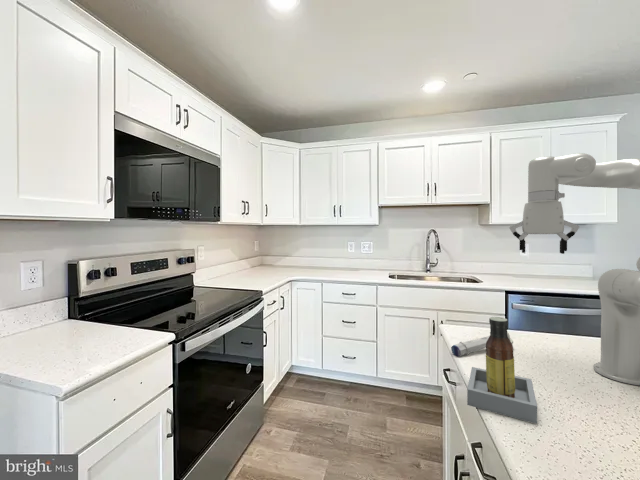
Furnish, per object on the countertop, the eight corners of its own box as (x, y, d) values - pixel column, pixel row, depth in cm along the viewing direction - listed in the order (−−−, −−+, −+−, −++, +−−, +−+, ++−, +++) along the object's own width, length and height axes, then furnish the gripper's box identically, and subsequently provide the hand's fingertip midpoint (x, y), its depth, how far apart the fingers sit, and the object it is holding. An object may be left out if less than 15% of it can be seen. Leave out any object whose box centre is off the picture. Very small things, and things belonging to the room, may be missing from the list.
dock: (531, 394, 77) (531, 379, 77) (537, 424, 65) (537, 406, 65) (471, 380, 84) (471, 366, 84) (467, 405, 73) (467, 389, 72)
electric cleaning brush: (449, 342, 104) (502, 325, 111) (451, 360, 104) (504, 342, 111) (460, 348, 99) (515, 330, 106) (462, 366, 99) (517, 347, 106)
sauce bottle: (510, 390, 77) (511, 316, 76) (518, 404, 71) (519, 323, 70) (482, 387, 79) (483, 314, 78) (488, 399, 73) (489, 321, 72)
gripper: (576, 197, 89) (575, 253, 90) (509, 201, 98) (508, 251, 99) (582, 194, 83) (581, 254, 83) (510, 198, 92) (509, 252, 92)
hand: (542, 252), depth 91 cm, fingers open, 9 cm apart
